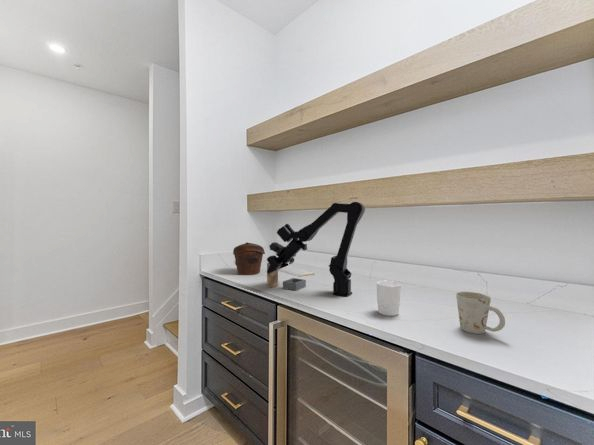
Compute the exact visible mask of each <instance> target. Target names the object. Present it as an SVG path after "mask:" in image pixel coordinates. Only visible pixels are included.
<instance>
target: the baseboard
mask: <svg viewBox="0 0 594 445" xmlns="http://www.w3.org/2000/svg"><path fill="white" fill-rule="evenodd" d="M278 272H281V273H286V274H289V275H293V276H296V277H299V278H300V277H308V276H314V275H315V272H310V271H309V270H303V269H300V268H295V267H292V266H289V265H288V266H286V267H283V268H281V269H279V270H278Z"/></svg>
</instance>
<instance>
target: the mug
mask: <svg viewBox="0 0 594 445" xmlns="http://www.w3.org/2000/svg"><path fill="white" fill-rule="evenodd" d="M455 296H456V304H457V311H458V318H459V320H458V321H459V327H460V329H461V330H462V331H464V332H467V333H469V334H475V335H476V334H477V335H483V334H485V332H486V331H491V332H498V331H501V330H503V329H504V327H505V326H506V319H505V316H504V314H503V312H502V311H501V309H499V308H498V307H495V306H492V305H491V301H492V300H491V296H490V295H487V294H485V293H480V292H475V291H458V292H456V294H455ZM490 311H492V312H494V313H495V314H496V315H497V316H498V319H499V322H498V324H497V326H495V327H490V326H487V323H488V317H489V312H490Z"/></svg>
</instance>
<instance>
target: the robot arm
mask: <svg viewBox="0 0 594 445" xmlns="http://www.w3.org/2000/svg"><path fill="white" fill-rule="evenodd" d="M365 211H366V207H365V205H364V204H363V203H361V202H358V201H352V202H350V203H338V202H333V203H332V204H331V205H330V207H328V208H327V209H326V210H325V211H323V213H321V214H320V215H319V216H318V217H317V218H316V219H315V220H313V221H312V222H311V223H309V224H307V225H305V226H304V227H302V228H300V229H299V230H298V231H295V230H294V229H293V228H292V227H291V225H290V224H289V223H285V224H284V225H283V226H281V227H280V228H278V229H277V231H276V234H277V235H278V236H279V238H280V239H282V241H283V242H284V243H288V244H287V245H286V246H284V245H282V244H280V243H278V242H271V243H270V245H269V250H270V251H273V252H274V253H275V255H269V256H268V257H267V258H266V261H267V263H269V264H270V266H269V268H268V270H267V269H266V274H267V273H268V274H269V273H271V272H273V271H275V270H279V269H281V268H283V267H286V266H288V267H289V265H292V264H293V263H295V257H296V256H297V254H298V253H299V252H300V250H302V251H306V250H308V244H307V243H305V242H310V241H313V239H314V237H316V235H317V234H318V232H319V230H320V229H321V228H323V226H326V224H327V223H328V222H329V221H331V220H332V219H333V218H334V217H335V216H336V215H338V214H339V213H344V214H345V213H346V215H347V216H346V225H345V228H344V232H343V235H342V238H341V242H340V244H339V248H338V251H337V254H336V255H334V256H332V257H331V258H330V263H329V264H328V267H329V273H330V275H331V276H332V277H333V279H334V281H333V282H332V284H333V285H332V286H333V287H332V289H333V290H332V295H335V296H341V297H346V298H347V297H348V296H351V295H352V294H353V292H352V279H351V277H352V272H351V271H350V270H349V269H348V255H349V252H350V249H351V245H352V242H353V239H354V236H355V233H356V229H357V226H358V224H359V223H360V221H361V219H362V217H363V215H364V214H365Z"/></svg>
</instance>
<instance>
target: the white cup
mask: <svg viewBox="0 0 594 445" xmlns="http://www.w3.org/2000/svg"><path fill="white" fill-rule="evenodd" d="M401 290H402V283H400V282H399V281H398V282H397V281H392V280H379V281H377V282H376V299H377V300H376V302H377V313H379V314H380V315H383V316H387V317H388V316H392V317H395V316H399V315H400V314H399V313H400V305H401Z"/></svg>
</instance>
